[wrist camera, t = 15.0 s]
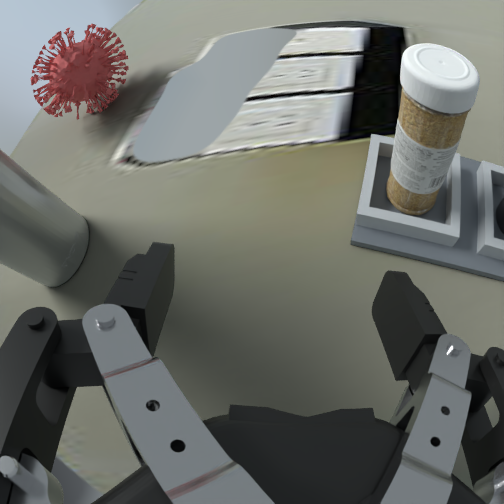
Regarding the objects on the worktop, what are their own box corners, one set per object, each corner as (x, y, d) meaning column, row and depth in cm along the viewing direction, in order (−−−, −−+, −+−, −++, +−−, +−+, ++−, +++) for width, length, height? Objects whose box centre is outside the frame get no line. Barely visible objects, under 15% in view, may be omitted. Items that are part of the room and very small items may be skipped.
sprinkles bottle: (418, 166, 25) (446, 37, 13) (444, 207, 23) (497, 82, 11) (375, 181, 26) (385, 45, 14) (400, 225, 24) (437, 94, 12)
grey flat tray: (350, 244, 25) (353, 211, 20) (371, 141, 28) (373, 101, 24) (549, 293, 18) (582, 273, 14) (542, 188, 22) (565, 158, 17)
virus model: (55, 150, 42) (-4, 90, 28) (87, 88, 47) (44, 31, 34) (128, 126, 38) (67, 45, 25) (156, 63, 44) (115, -8, 30)
